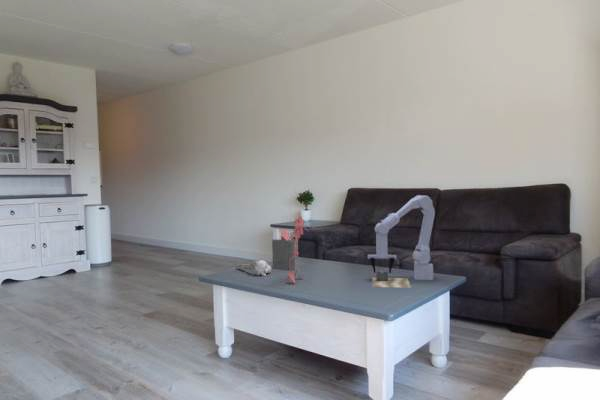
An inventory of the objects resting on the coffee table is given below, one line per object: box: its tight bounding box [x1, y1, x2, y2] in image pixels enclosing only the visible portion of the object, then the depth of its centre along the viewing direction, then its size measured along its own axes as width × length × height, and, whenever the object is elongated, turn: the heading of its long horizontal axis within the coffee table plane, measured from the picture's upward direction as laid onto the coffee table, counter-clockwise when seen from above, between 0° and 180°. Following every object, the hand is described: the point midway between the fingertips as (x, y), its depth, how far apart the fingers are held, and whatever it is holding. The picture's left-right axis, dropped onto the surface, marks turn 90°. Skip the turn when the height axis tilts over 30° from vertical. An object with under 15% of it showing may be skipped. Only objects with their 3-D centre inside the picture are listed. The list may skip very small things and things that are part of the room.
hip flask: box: [271, 235, 296, 272], centre depth 257 cm, size 16×4×20 cm, turn 56°
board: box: [371, 277, 412, 289], centre depth 212 cm, size 18×20×1 cm
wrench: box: [235, 260, 259, 276], centre depth 249 cm, size 8×2×30 cm
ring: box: [375, 270, 389, 281], centre depth 218 cm, size 6×6×4 cm
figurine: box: [279, 215, 315, 286], centre depth 222 cm, size 15×26×35 cm, turn 157°
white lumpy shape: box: [255, 259, 272, 277], centre depth 242 cm, size 6×8×12 cm
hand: (382, 272), depth 218 cm, fingers open, 7 cm apart
